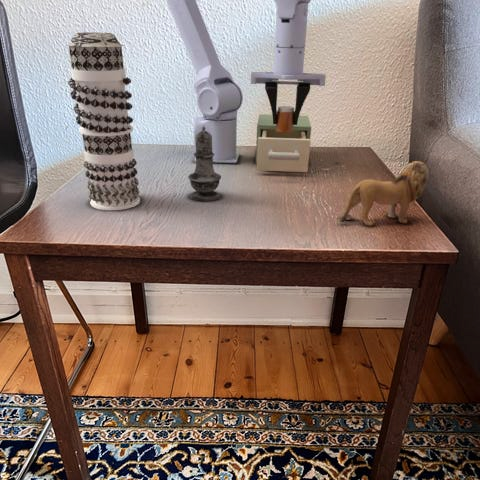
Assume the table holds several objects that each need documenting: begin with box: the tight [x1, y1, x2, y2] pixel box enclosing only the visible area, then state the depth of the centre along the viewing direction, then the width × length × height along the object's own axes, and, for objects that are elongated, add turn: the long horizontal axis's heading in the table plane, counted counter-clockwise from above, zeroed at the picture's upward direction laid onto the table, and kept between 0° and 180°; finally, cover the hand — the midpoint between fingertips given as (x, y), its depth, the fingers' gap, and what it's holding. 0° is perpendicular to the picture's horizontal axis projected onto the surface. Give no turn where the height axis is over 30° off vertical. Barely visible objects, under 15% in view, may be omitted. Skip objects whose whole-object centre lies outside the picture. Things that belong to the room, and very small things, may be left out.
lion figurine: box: [339, 160, 430, 227], centre depth 73 cm, size 15×5×9 cm, turn 110°
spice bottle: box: [276, 105, 295, 133], centre depth 95 cm, size 4×4×4 cm
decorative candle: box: [66, 31, 141, 211], centre depth 74 cm, size 9×9×25 cm
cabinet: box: [255, 113, 312, 165], centre depth 108 cm, size 14×12×8 cm
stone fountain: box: [187, 126, 222, 202], centre depth 81 cm, size 6×6×12 cm
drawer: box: [256, 129, 312, 173], centre depth 98 cm, size 17×10×6 cm, turn 176°
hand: (284, 123), depth 96 cm, fingers closed on spice bottle, 3 cm apart
